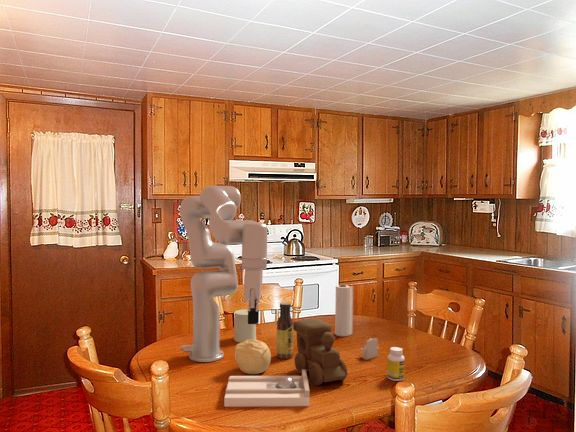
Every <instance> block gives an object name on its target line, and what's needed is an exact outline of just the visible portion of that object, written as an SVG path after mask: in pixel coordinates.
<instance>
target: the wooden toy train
mask: <svg viewBox="0 0 576 432" xmlns="http://www.w3.org/2000/svg"><path fill="white" fill-rule="evenodd" d="M292 322H293V331H295V332H296V347H297V353H296V354H295V356H294V367H295V369H296V371H297V373H298V374H300V375H302V370H306V372H307V371H308V374H309V378H310V380H311V383H312V384H314V386H317V387H318V386H321V384H323V382H324V383H327V382H329V383H330V382H333V381H341V382H342V381H345V379H346V378H347V377H348V368H347V365H346V364H347V363H346V362H345V361H344V359H341V355H340V351H338V350H337V349H336V348H334V347H333V345H334V343H335V340H336V337H335V336H334V334H333V332H332V325H331V324H330V323H329V322H326V321H324V320H322V319H319V318H309V319H301V320H296V321H292Z"/></svg>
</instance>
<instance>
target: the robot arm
mask: <svg viewBox="0 0 576 432" xmlns="http://www.w3.org/2000/svg"><path fill="white" fill-rule="evenodd" d="M241 201H242V196H241V193H240V190H239V189H238V188H236V187H235V186H233V185H209V186H205V187H204V188H203V189H202V190H201V191H200V194H199V195H192V196H191V195H190V196H187V197H185V198H184V199H182V200H181V203H180V206H179V208H180V211H179V212H180V217H181V218H180V219H181V221H182V225H183V227H184V228H185V232H186V234H187V239H188V240H187V241H188V248H189V253H190V254H189V255H190V259H191V260H190V261H191V263H192V266H193V268H196V269H214V268H215V269H216V268H218V269H220V270H207V271H200V272H197V273H195V274H194V275H193V276H192V277H191V278H190V290H191V295H192V307H193V310H192V311H193V313H192V314H193V320H192V321H193V322H192V323H193V328H192V329H193V330H192V331H193V334H192V335H193V343H192V344H189V345H186V344H183V345H181V351H182V352H183V353H188V352H189V354H188V358H189V360H191V361H193V362H198V363H210V362H215V361H219V360H221V359H222V358H224V354H225V353H224V351H223V350H221V349H220V313H221V312H220V311H221V310H220V307H219V305H218V304H217V302H216V301H215V300H214V298H216V297H223V296H230V295H231V296H232V295H233V294H235V293H236V292H237V290H238V288H239V281H238V272H237V267H236V261H235V256H234V251H233V249H232V247H231V245H241V269H242V270H244V277H243V278H244V280H243V298H242V299H243V301H242V302H243V303H245V304H246V303H248V324H256V325H258V324H259V321H260V319H259V318H260V317H259V316H260V311H259V303H260V301H261V299H262V298H261V297H262V293H263V292H262V290H263V273H264V272H263V271H264V270H266V269H267V268H268V267H267V265H268V264H267V263H268V226H267V224H266V223H264V222H259V221H258V222H257V221H256V220H251V219H246V220H244V219H243V220H241V219H237V220H233V219H234V218H235V216H236V214H237V211H238V208H239V207H240V206H241ZM201 219H209V220H208V226H209V227H208V226H207V225H206V223H204V221H202V220H201ZM211 235H212V236H213V238H214V239H215V241H217V242H213V239H212V236H211Z"/></svg>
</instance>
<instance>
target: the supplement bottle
mask: <svg viewBox="0 0 576 432" xmlns="http://www.w3.org/2000/svg"><path fill="white" fill-rule="evenodd" d="M403 350H404V349H403V348H402V347H397V346H392V347H390V348H389V354H388V355H387V371H386V374H387V375H386V377H387V379H389V381H390V380H391V381H396V382H401V381H403V380H404V379H405V360H406V358H405V356H404V355H403V353H404V352H403Z"/></svg>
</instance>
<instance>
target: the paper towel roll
mask: <svg viewBox="0 0 576 432" xmlns="http://www.w3.org/2000/svg"><path fill="white" fill-rule="evenodd" d="M334 310H335V314H334V315H335V316H334V317H335V322H334V324H335V325H334V333H335V336H337V337H348V336H350V335H352V334H354V333H353V332H354V285H351V286H349V285H347V284H337V285H336V286H335V309H334Z"/></svg>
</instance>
